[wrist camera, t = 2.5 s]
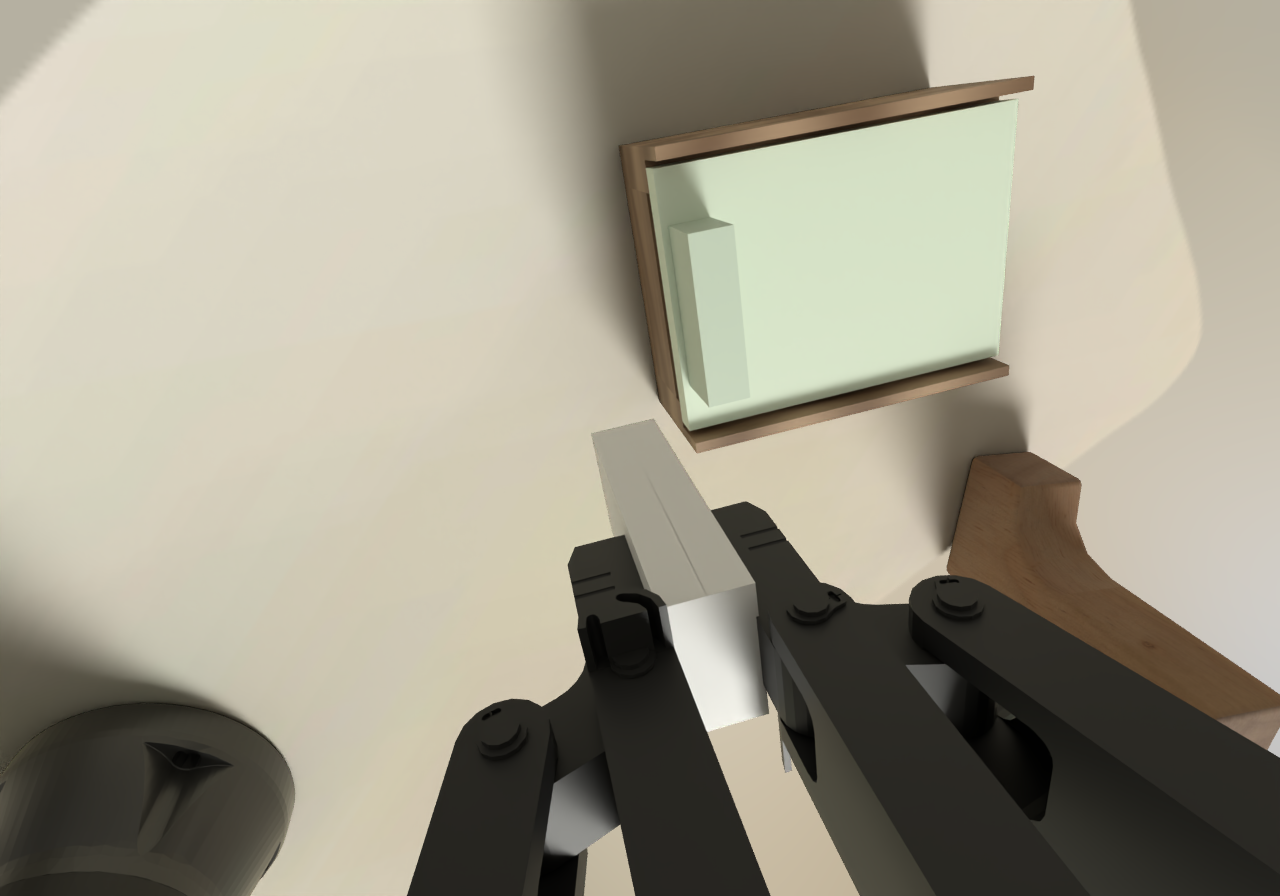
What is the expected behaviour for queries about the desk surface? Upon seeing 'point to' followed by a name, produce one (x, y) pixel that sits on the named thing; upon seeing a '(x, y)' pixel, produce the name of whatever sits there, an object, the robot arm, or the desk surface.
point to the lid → (834, 259)
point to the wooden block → (1090, 590)
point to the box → (766, 133)
